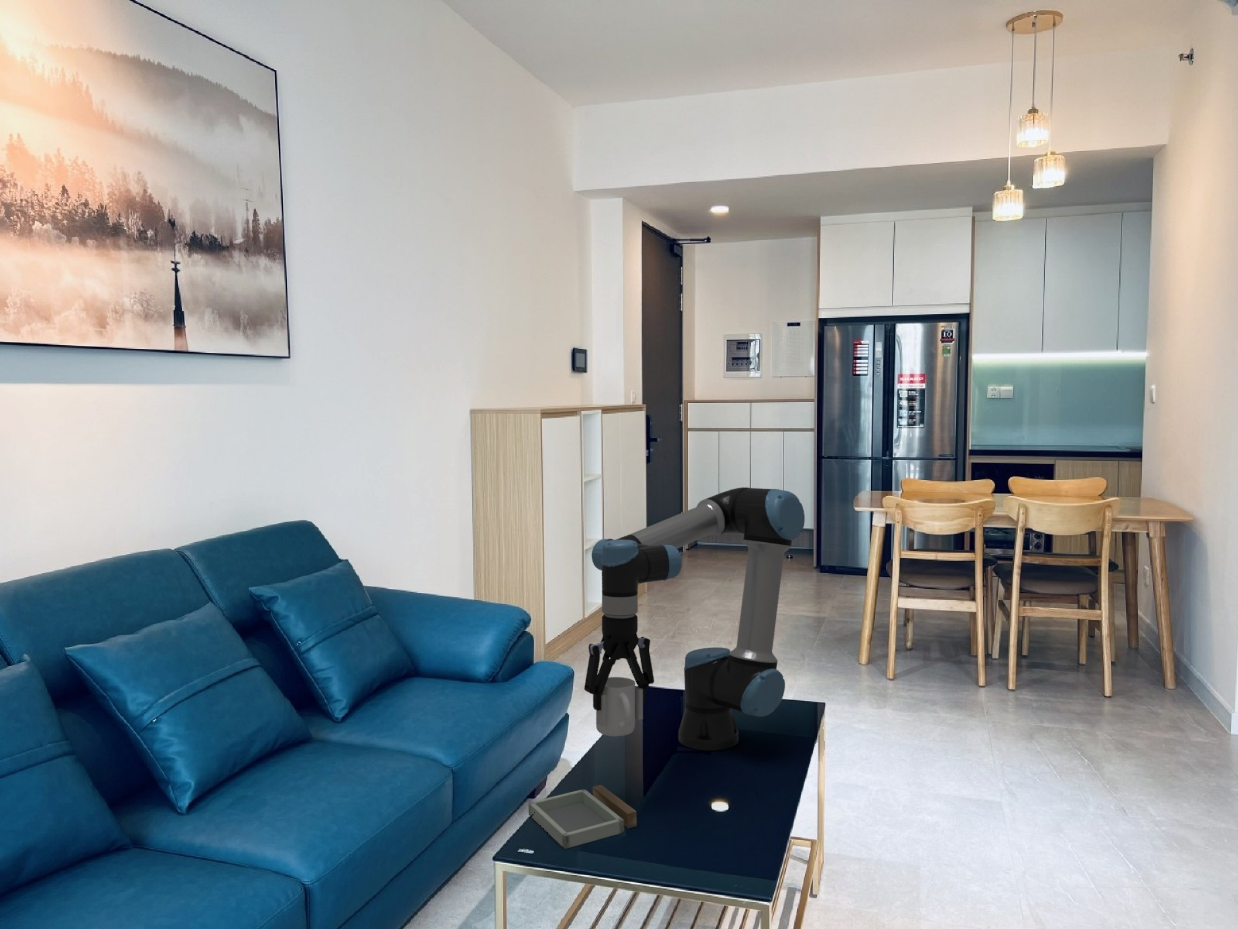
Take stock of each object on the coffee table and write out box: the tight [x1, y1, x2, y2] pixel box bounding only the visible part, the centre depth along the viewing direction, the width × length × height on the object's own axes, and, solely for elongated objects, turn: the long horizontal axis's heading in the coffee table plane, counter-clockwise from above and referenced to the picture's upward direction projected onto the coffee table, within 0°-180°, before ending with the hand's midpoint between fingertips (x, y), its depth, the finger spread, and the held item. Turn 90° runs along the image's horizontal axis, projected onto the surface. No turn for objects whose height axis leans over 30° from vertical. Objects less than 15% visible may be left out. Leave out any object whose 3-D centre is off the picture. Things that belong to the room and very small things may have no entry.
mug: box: [595, 676, 636, 737], centre depth 184 cm, size 12×8×10 cm
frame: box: [528, 788, 625, 850], centre depth 177 cm, size 13×17×2 cm
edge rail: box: [592, 784, 638, 829], centre depth 182 cm, size 2×15×3 cm, turn 29°
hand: (619, 721), depth 184 cm, fingers closed on mug, 8 cm apart
